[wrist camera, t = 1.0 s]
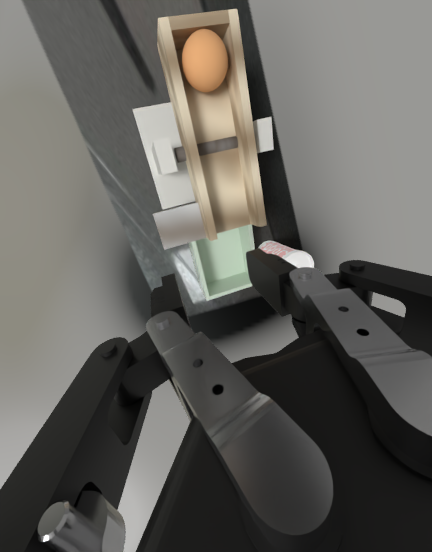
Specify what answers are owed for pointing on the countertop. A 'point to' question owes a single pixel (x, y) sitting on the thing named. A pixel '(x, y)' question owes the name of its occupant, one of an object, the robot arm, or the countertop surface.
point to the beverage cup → (288, 254)
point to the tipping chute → (211, 136)
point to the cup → (223, 261)
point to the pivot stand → (160, 152)
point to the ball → (204, 60)
